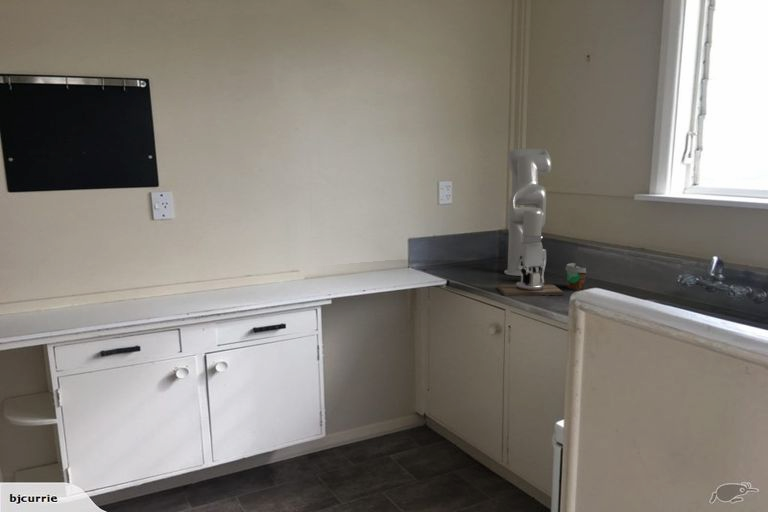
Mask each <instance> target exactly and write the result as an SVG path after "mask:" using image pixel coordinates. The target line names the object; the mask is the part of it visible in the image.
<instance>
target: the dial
mask: <svg viewBox="0 0 768 512" xmlns="http://www.w3.org/2000/svg"><path fill="white" fill-rule="evenodd" d="M528 275H529V284H525V283H523V274H522V272H521V276H520V281H517V282H516V287H517V288H519V289H523V290H542V289H543V285H544V284H545V283H540V282H539V278H540V274H539V273H536V272H533V271H531V269H529V271H528Z"/></svg>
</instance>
